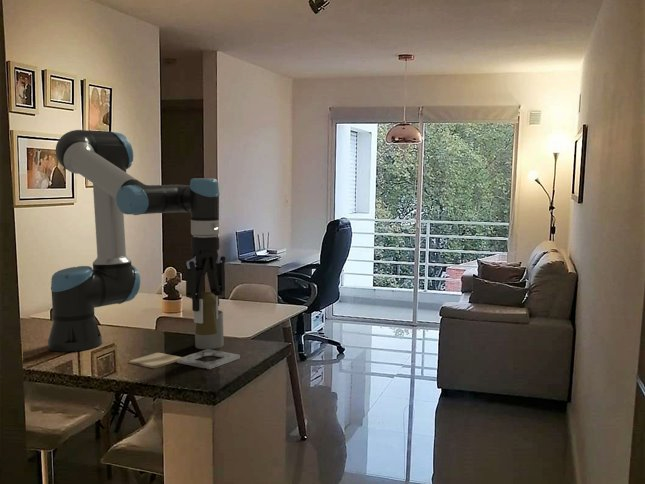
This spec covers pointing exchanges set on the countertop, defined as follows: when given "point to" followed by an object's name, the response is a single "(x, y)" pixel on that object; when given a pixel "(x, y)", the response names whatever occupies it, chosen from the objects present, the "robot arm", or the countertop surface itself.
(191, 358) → the plate
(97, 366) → the countertop surface
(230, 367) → the countertop surface
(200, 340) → the cup
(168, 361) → the coaster
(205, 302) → the pepper shaker
